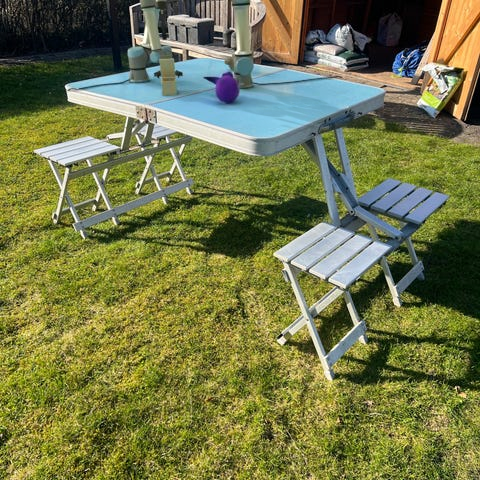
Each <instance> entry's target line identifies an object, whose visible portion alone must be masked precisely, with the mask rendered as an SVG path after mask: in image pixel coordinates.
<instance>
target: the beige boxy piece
mask: <svg viewBox="0 0 480 480" xmlns="http://www.w3.org/2000/svg"><path fill="white" fill-rule="evenodd" d="M163 58H170V59H163ZM159 61H160V62H159V70H160V71H161V76H160V79H161V78H171V77H176V76H175V71H176V66H175V58H172V59H171V55H162V59H159Z"/></svg>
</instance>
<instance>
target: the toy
mask: <svg viewBox="0 0 480 480" xmlns="http://www.w3.org/2000/svg"><path fill="white" fill-rule="evenodd" d="M233 77H234V73H233V72H231V71H227V72H224V73H222V74H221V76H203V79H205V80H206V81H208V82H210V83H212V84H214V85H215V88H214V89H215V90H214V91H215V95H216V99H218V100H219V101H220V102H221V103H226V104H228V103H230V104H231V103H233V102H234V101H236V99H237V98H238V97H239V95H240V92H241V89H240V88H239V84H238V82H237V81H236V79H234V78H233Z"/></svg>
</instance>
